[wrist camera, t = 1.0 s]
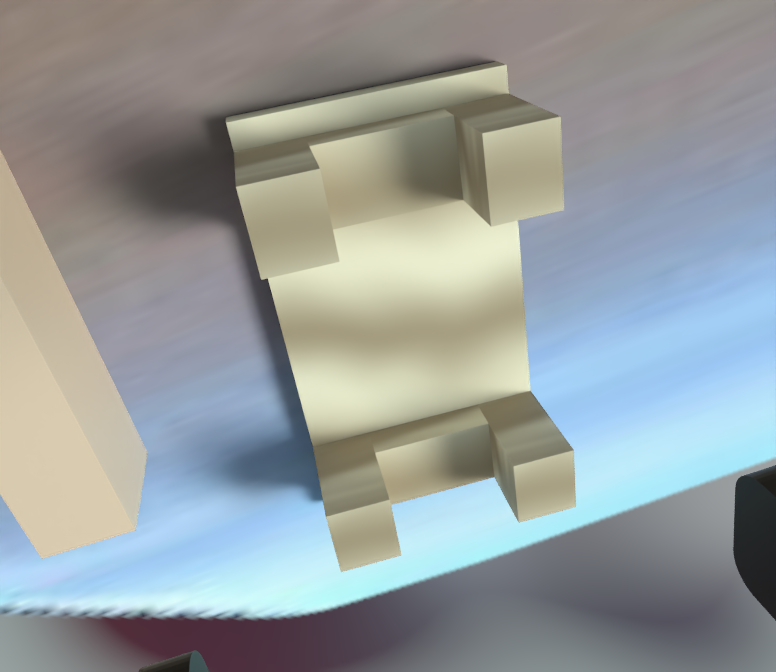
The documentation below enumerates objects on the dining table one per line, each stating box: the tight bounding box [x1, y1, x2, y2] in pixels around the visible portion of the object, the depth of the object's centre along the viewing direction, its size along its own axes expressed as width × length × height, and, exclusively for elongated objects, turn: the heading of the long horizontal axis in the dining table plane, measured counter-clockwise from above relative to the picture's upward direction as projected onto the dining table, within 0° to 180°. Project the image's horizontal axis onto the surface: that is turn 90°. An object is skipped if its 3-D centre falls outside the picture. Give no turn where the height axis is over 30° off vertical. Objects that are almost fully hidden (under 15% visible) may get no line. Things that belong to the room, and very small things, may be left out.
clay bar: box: [0, 150, 148, 559], centre depth 25 cm, size 14×4×5 cm, turn 12°
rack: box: [226, 62, 576, 572], centre depth 27 cm, size 18×10×6 cm, turn 9°
